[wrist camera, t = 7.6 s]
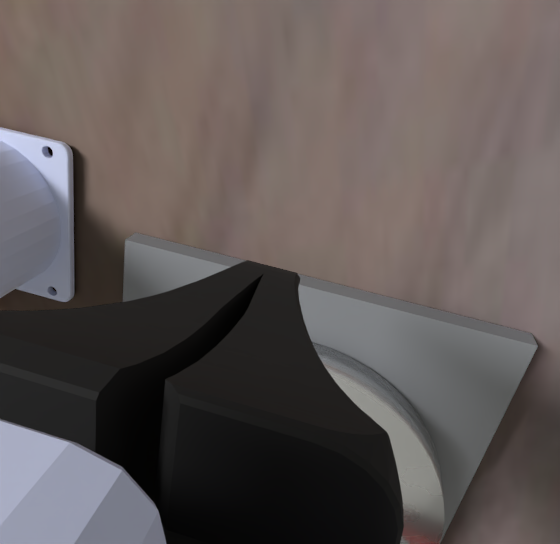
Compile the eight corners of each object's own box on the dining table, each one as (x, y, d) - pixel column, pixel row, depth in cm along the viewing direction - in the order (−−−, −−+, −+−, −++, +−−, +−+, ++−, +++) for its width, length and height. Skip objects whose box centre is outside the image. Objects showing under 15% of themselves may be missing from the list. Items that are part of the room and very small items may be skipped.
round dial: (295, 611, 29) (282, 684, 26) (83, 451, 27) (40, 506, 24) (515, 491, 22) (537, 568, 19) (252, 266, 20) (224, 307, 17)
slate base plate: (121, 528, 31) (111, 545, 30) (135, 232, 22) (122, 241, 21) (393, 619, 29) (393, 640, 28) (531, 333, 20) (539, 348, 19)
